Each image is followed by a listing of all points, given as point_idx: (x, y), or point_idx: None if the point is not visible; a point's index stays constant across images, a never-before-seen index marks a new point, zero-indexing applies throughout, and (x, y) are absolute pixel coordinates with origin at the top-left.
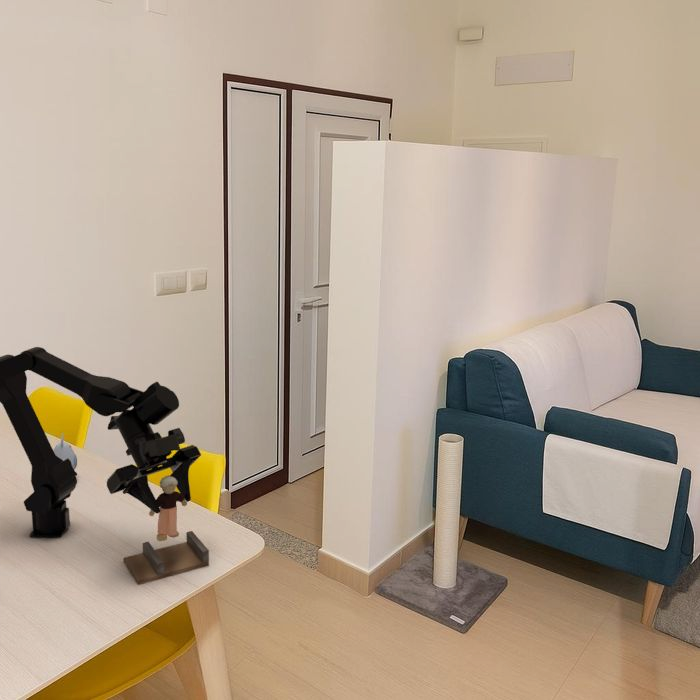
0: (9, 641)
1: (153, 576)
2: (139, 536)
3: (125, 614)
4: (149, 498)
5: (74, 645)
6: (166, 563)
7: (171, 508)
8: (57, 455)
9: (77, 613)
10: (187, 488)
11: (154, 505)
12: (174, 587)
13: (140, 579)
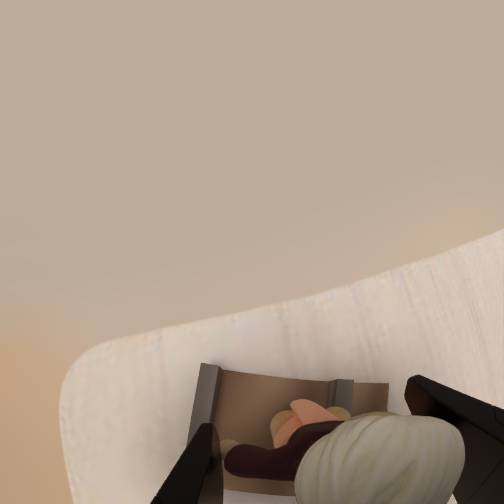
0: None
1: (354, 383)
2: None
3: (429, 297)
4: (484, 403)
5: (490, 265)
6: None
7: (327, 420)
8: None
9: (485, 342)
10: (191, 467)
11: (447, 387)
12: (323, 331)
13: (382, 386)
